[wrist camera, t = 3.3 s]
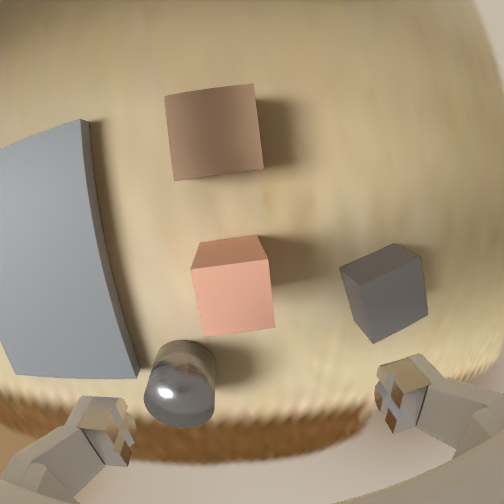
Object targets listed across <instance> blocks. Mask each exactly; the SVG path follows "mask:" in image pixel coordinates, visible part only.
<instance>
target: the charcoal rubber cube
mask: <svg viewBox="0 0 504 504" xmlns="http://www.w3.org/2000/svg"><path fill="white" fill-rule="evenodd" d="M339 269H340V272H341V275H342V279H343V282H344V286H345V289H346V293H347V296H348V300H349V303H350V307H351V311H352V314H353V318H354V321H355V322H356V323H357V325H358V326H359V327H360V328H361V330H362V331H363V332H364V333H365V335H366V336H367V337H368V338H369V340H370V341H371V342H372V343H373V344H374V343H376V342H378V341H380V340H382V339H384V338H386V337H388V336H390V335H392V334H394V333H396V332H398V331H400V330H402V329H404V328H405V327H407V326H409V325H411V324H413V323H415V322H416V321H418V320H420V319H422V318H424V317H425V316H427V315H428V307H427V299H426V291H425V283H424V276H423V270H422V264H421V258H420V256H418V255H416V254H415V253H413V252H411V251H408V250H406V249H404V248H402V247H400V246H398V245H396V244H394V243H393V244H391V245H389V246H387V247H385V248H383V249H380V250H378V251H376V252H374V253H371V254H369V255H367V256H365V257H363V258H360V259H358V260H356V261H353V262H351V263H349V264H347V265H344V266H342V267H340V268H339Z"/></svg>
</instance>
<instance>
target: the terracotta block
mask: <svg viewBox="0 0 504 504" xmlns="http://www.w3.org/2000/svg"><path fill="white" fill-rule="evenodd" d="M191 275H192V280H193V285H194V291H195V296H196V301H197V306H198V311H199V316H200V321H201V326H202V331H203V335H204V337H206V336H215V335H224V334H232V333H240V332H247V331H254V330H262V329H268V328H275V322H274V311H273V301H272V291H271V281H270V271H269V261H268V257H267V255H266V253H265V251H264V249H263V247H262V245H261V243H260V241H259V239H258V237H257V235H255V236H247V237H239V238H232V239H224V240H216V241H209V242H201V243H199V246H198V249H197V252H196V255H195V258H194V261H193V264H192V267H191Z"/></svg>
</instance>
